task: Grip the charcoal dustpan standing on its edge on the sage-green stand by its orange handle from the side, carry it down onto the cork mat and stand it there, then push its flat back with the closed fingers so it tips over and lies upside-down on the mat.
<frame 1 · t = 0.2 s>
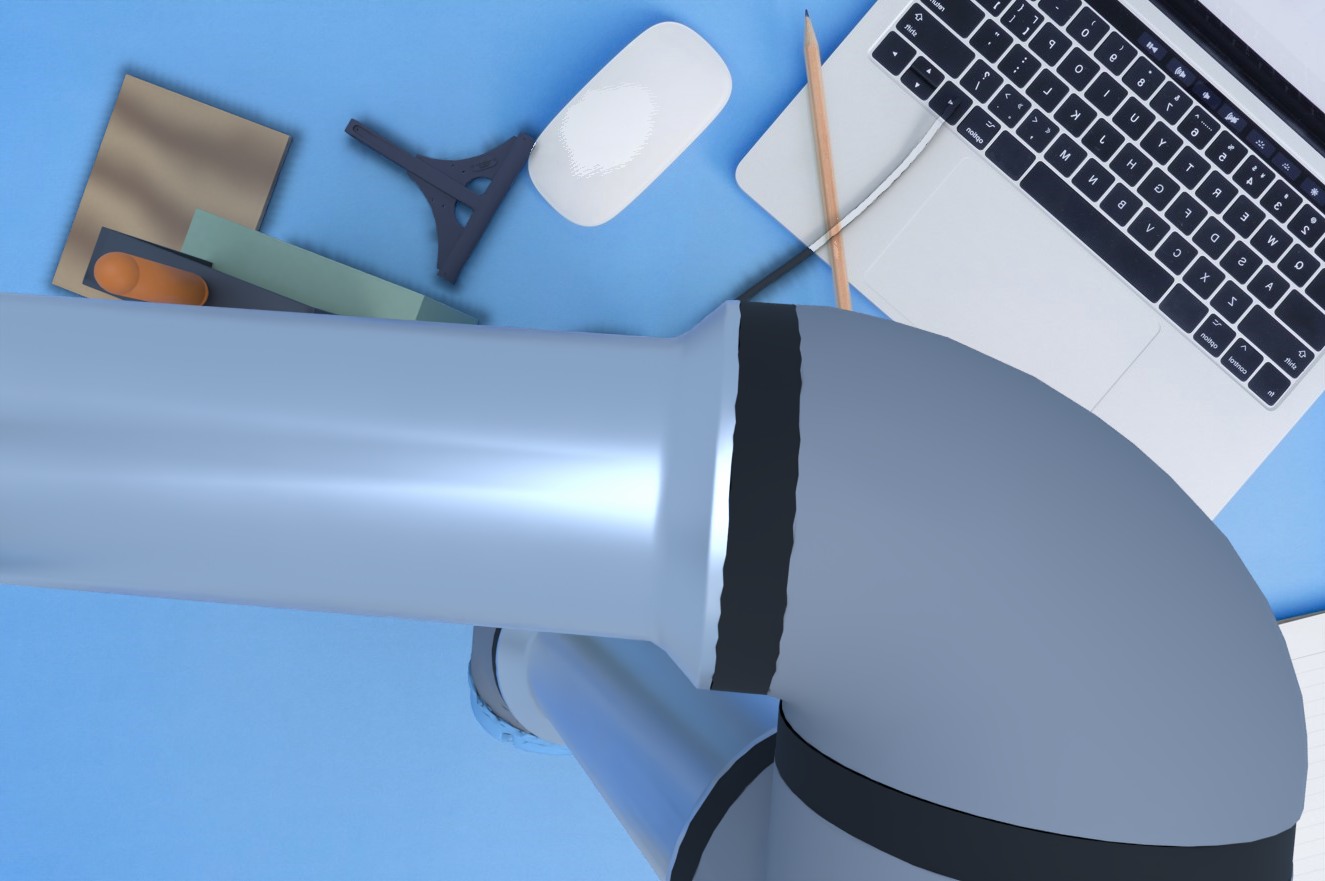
stand: (366, 336, 79), on the table
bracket: (427, 173, 78), on the table
dustpan: (285, 316, 64), point 15 cm above the table, touching stand
cork mat: (173, 211, 79), on the table
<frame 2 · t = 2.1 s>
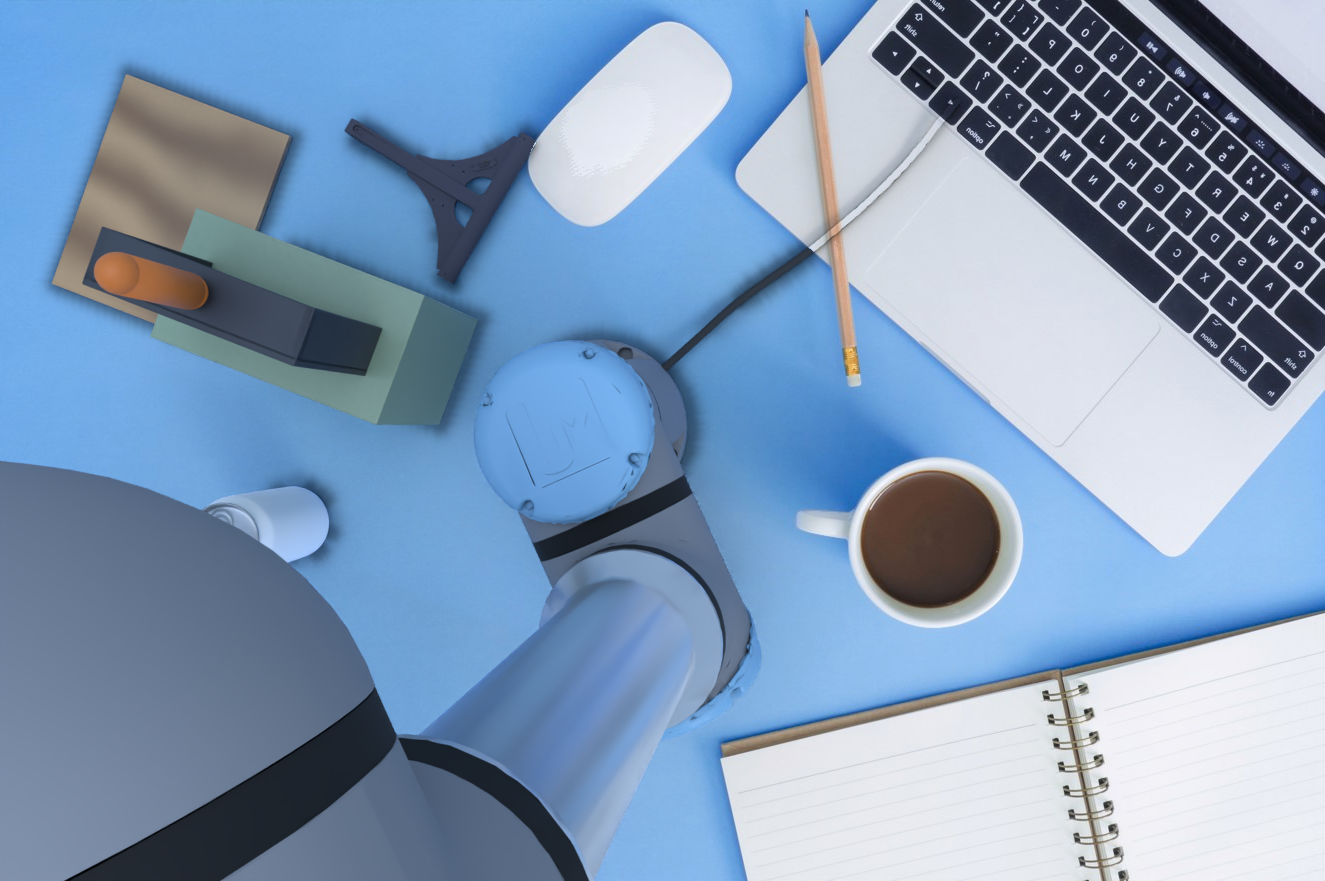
nothing on the table moved.
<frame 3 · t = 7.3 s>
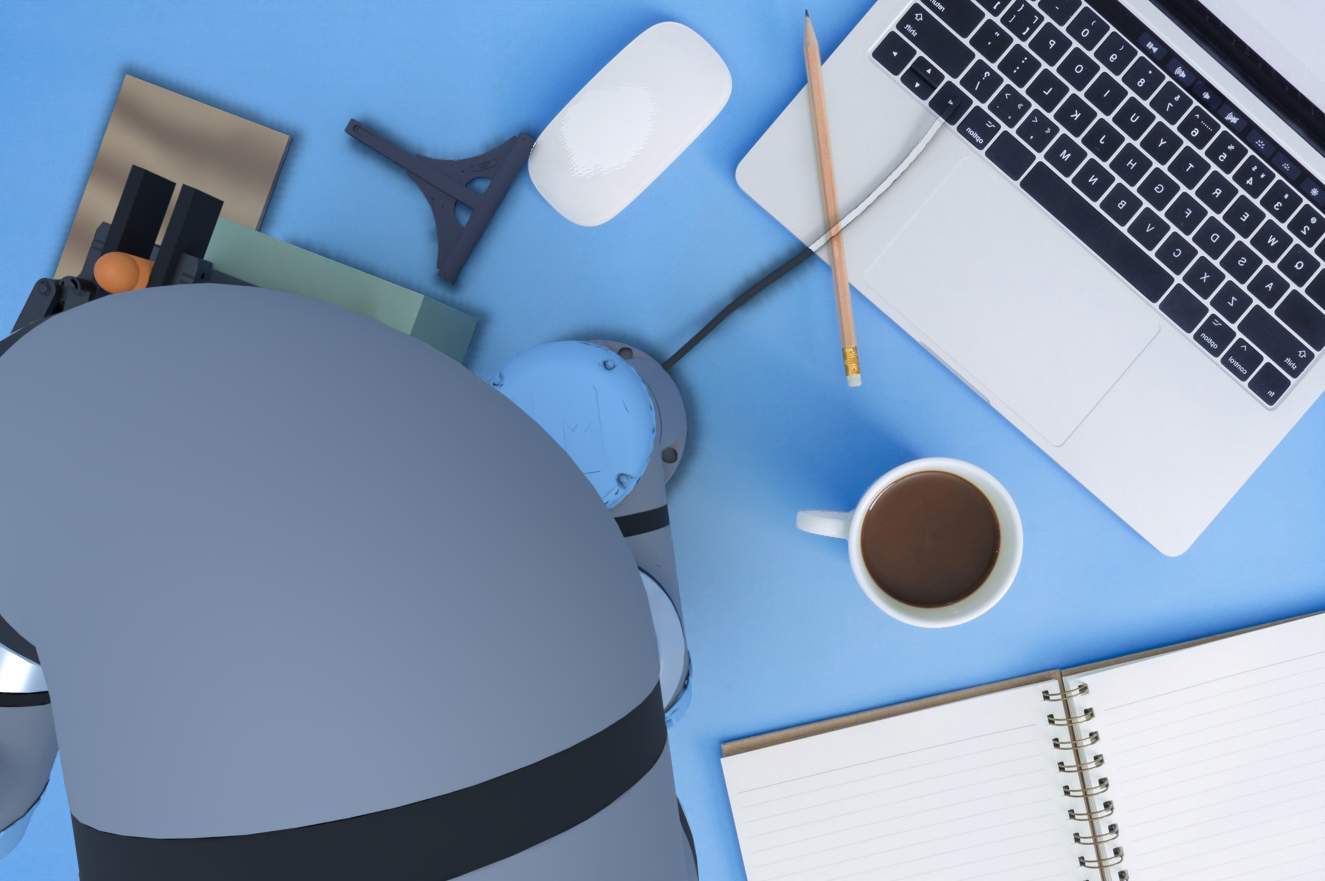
hand: (179, 184, 47), 31 cm above the table, tool horizontal, fingers closed on dustpan, 2 cm apart
dustpan: (285, 316, 64), point 15 cm above the table, touching gripper
everything else where it was.
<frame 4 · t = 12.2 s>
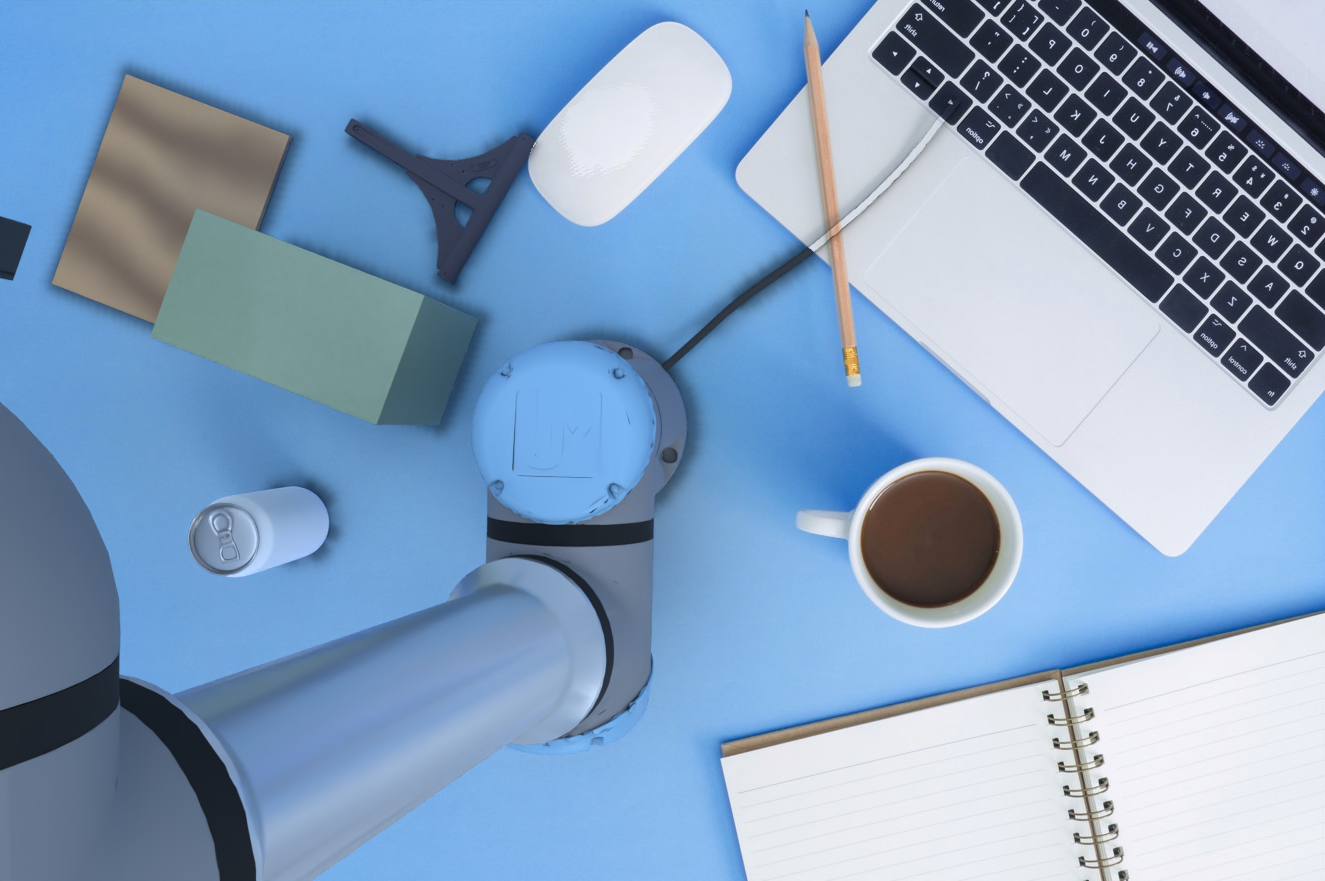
when the fingers open (17 cm above the table, at t = 17.1 s): dustpan stays where it is, resting on cork mat.
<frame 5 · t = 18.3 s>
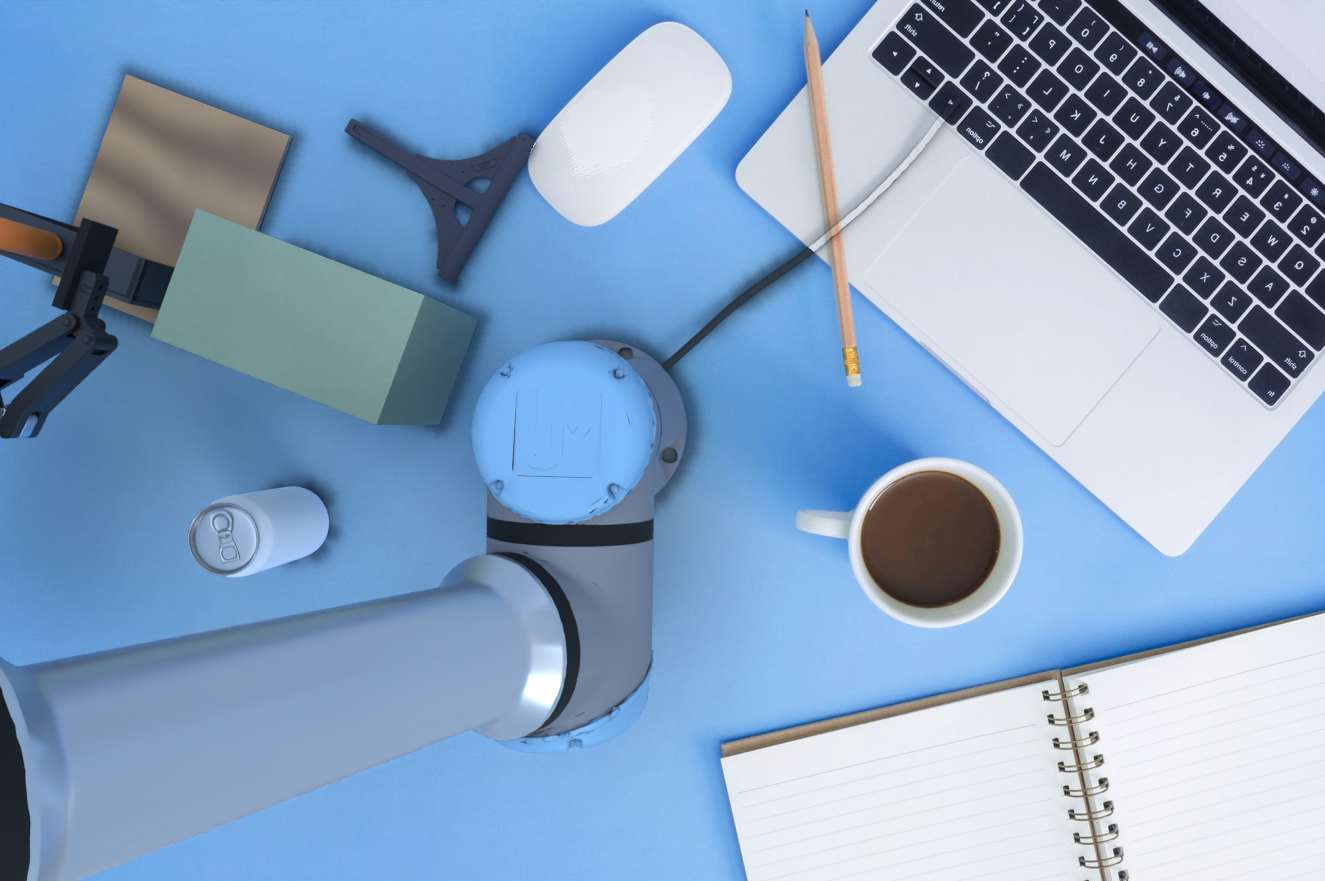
hand: (14, 189, 62), 17 cm above the table, tool horizontal, fingers open, 13 cm apart
dustpan: (146, 272, 79), point 1 cm above the table, touching cork mat
everything else where it was.
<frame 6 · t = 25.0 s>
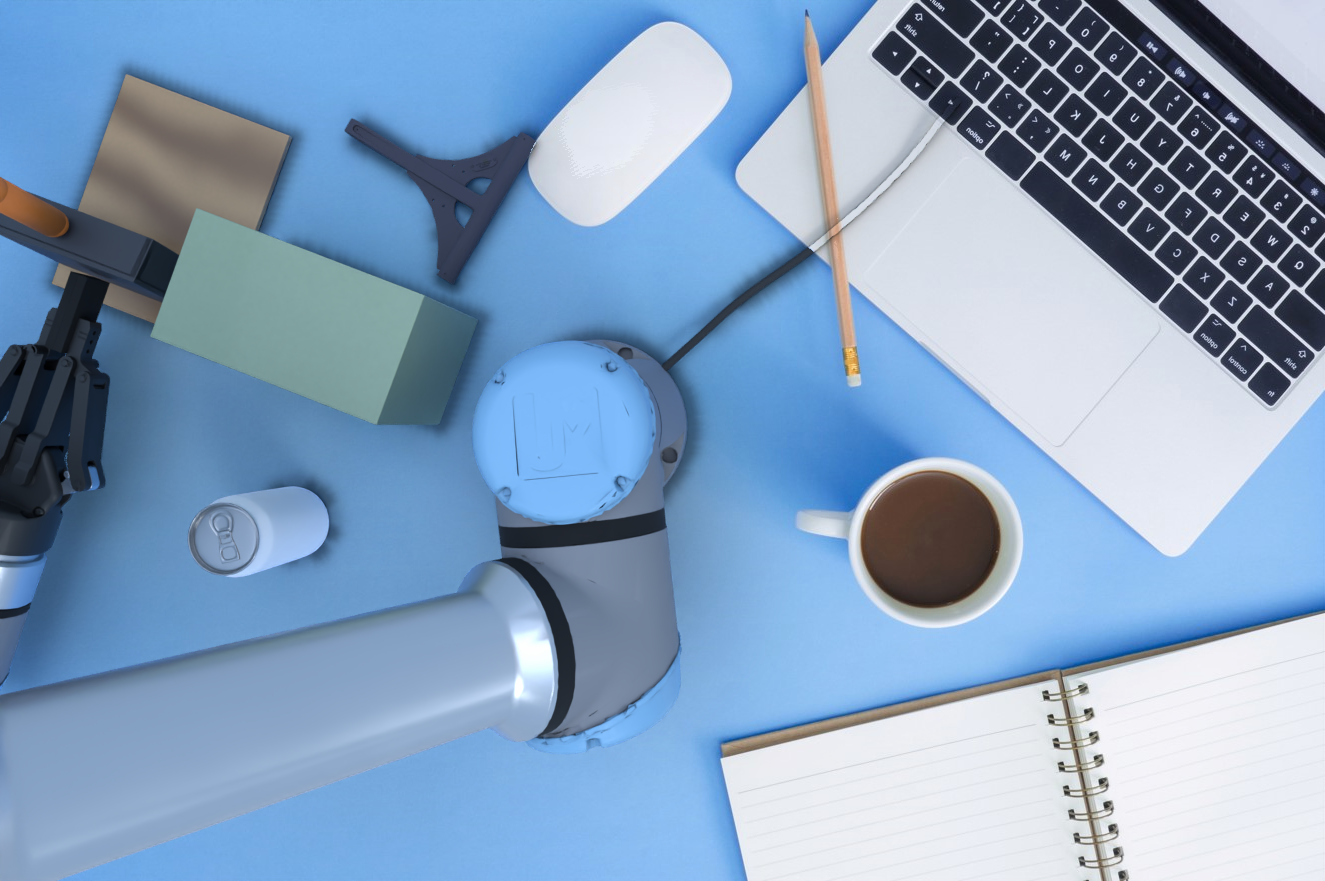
hand: (90, 277, 73), 7 cm above the table, tool horizontal, fingers closed
dustpan: (144, 272, 79), point 1 cm above the table, tilted 9°, touching cork mat
everything else where it was.
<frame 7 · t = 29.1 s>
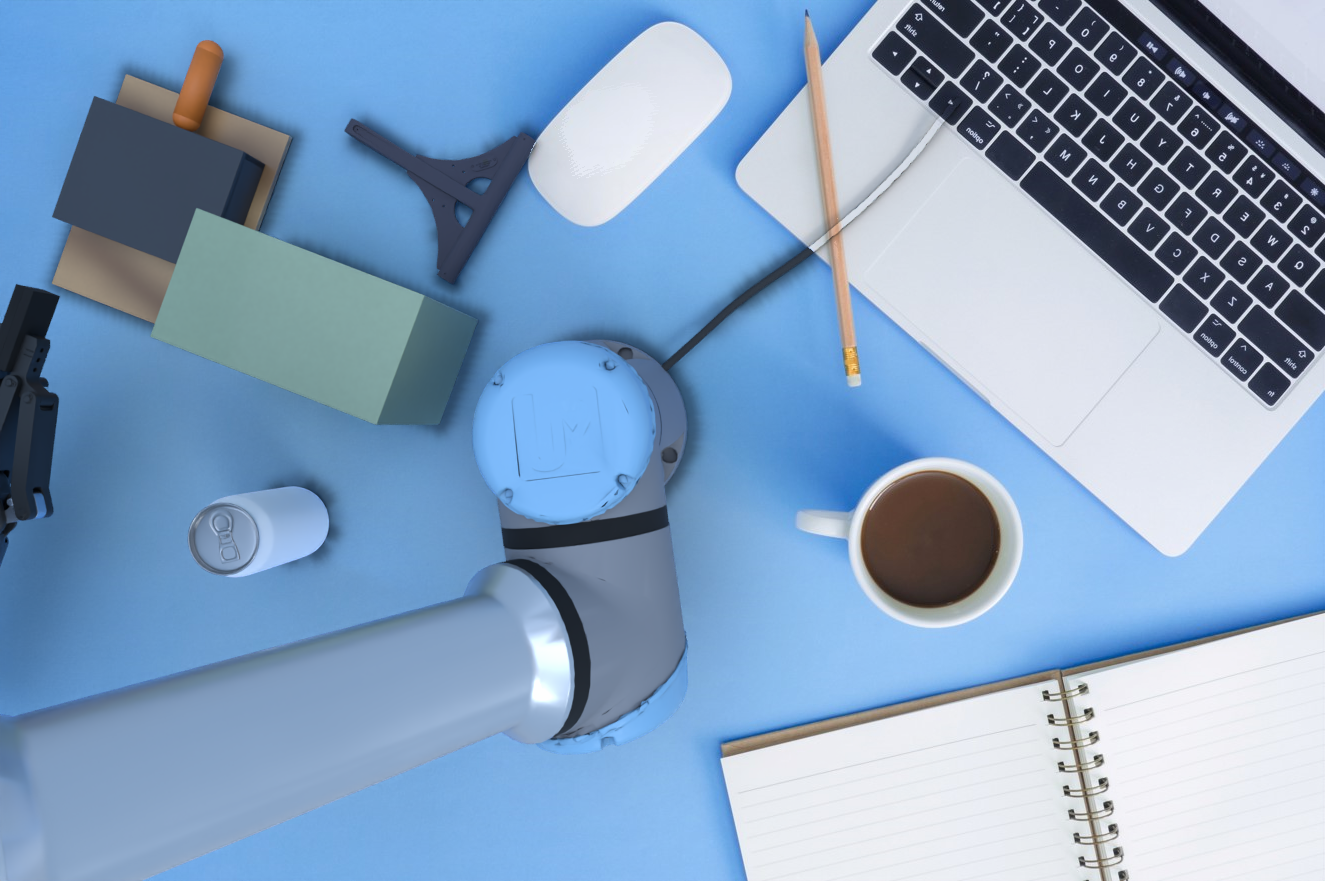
hand: (38, 290, 68), 12 cm above the table, tool horizontal, fingers closed
dustpan: (140, 249, 77), point 2 cm above the table, tilted 90°, touching cork mat
everything else where it was.
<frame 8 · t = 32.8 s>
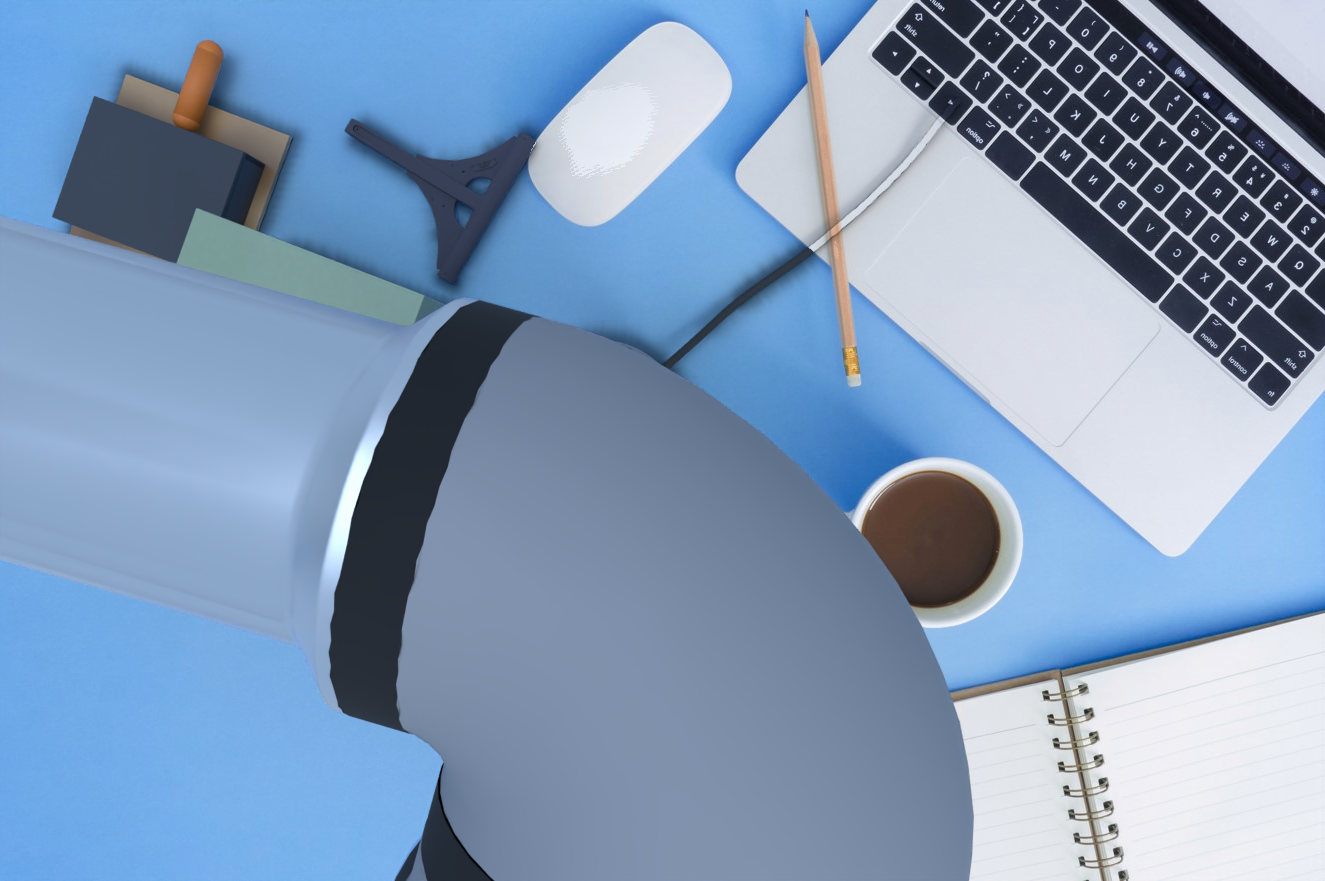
nothing on the table moved.
at the end: dustpan tilted 90°; dustpan inside the target area on the cork mat (1.3 cm from its centre), point 2.3 cm above the cork mat's base; the gripper is holding nothing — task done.
